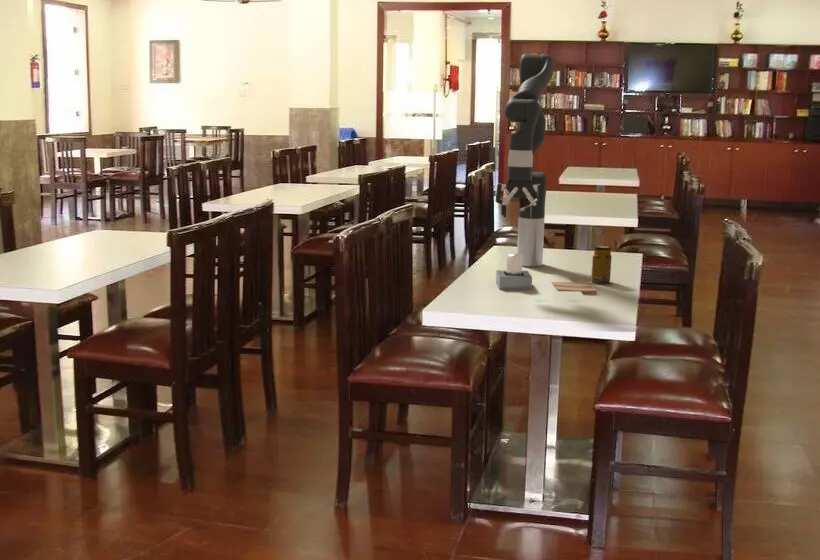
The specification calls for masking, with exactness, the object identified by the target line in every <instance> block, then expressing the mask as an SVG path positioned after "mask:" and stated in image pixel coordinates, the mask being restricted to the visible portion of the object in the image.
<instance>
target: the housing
mask: <svg viewBox="0 0 820 560" xmlns="http://www.w3.org/2000/svg"><path fill="white" fill-rule="evenodd" d="M495 274H496V275H495V284H496V286H497V288H498V290H503V291H504V290H510V291H511V290H514V291H515V290H517V291H526V290H527V291H532V288H533V276H532V275H531V273H530V272H529V270H522V276H506V270H501V269H500V270H496V272H495Z"/></svg>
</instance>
